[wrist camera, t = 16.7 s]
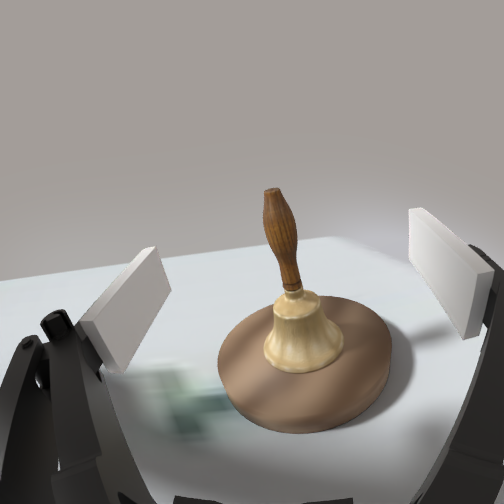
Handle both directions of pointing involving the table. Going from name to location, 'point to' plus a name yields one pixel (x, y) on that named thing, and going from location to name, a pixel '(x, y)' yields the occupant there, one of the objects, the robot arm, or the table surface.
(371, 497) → the table surface
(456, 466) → the robot arm
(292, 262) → the hand bell
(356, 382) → the walnut stand
